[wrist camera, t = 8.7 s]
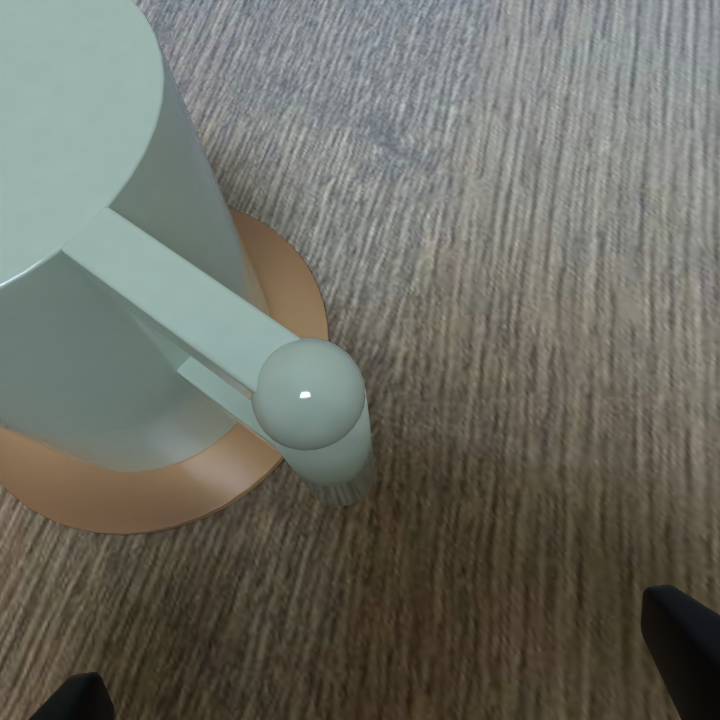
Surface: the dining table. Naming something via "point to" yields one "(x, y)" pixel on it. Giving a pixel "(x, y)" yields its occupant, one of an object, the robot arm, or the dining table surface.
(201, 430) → the jug
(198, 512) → the coaster
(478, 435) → the dining table surface
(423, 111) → the dining table surface
